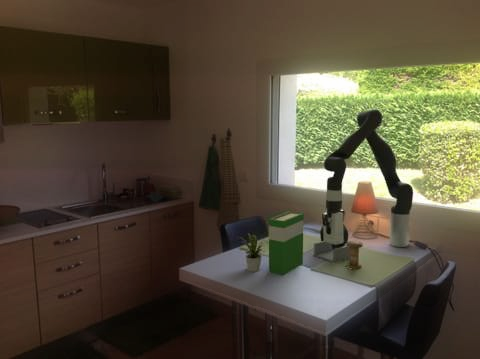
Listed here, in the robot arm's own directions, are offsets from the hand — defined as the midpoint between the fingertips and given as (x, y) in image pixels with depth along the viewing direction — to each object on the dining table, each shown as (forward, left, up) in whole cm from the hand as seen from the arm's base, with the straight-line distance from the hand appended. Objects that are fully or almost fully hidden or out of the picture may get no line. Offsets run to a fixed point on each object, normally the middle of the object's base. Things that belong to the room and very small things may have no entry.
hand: (333, 232), depth 207 cm
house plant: (+41, -12, -12) cm, 44 cm away
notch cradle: (0, 0, -12) cm, 12 cm away
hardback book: (+28, -3, -12) cm, 31 cm away
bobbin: (+3, +15, -12) cm, 19 cm away
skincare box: (0, 0, -5) cm, 5 cm away
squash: (-15, -12, -12) cm, 23 cm away
